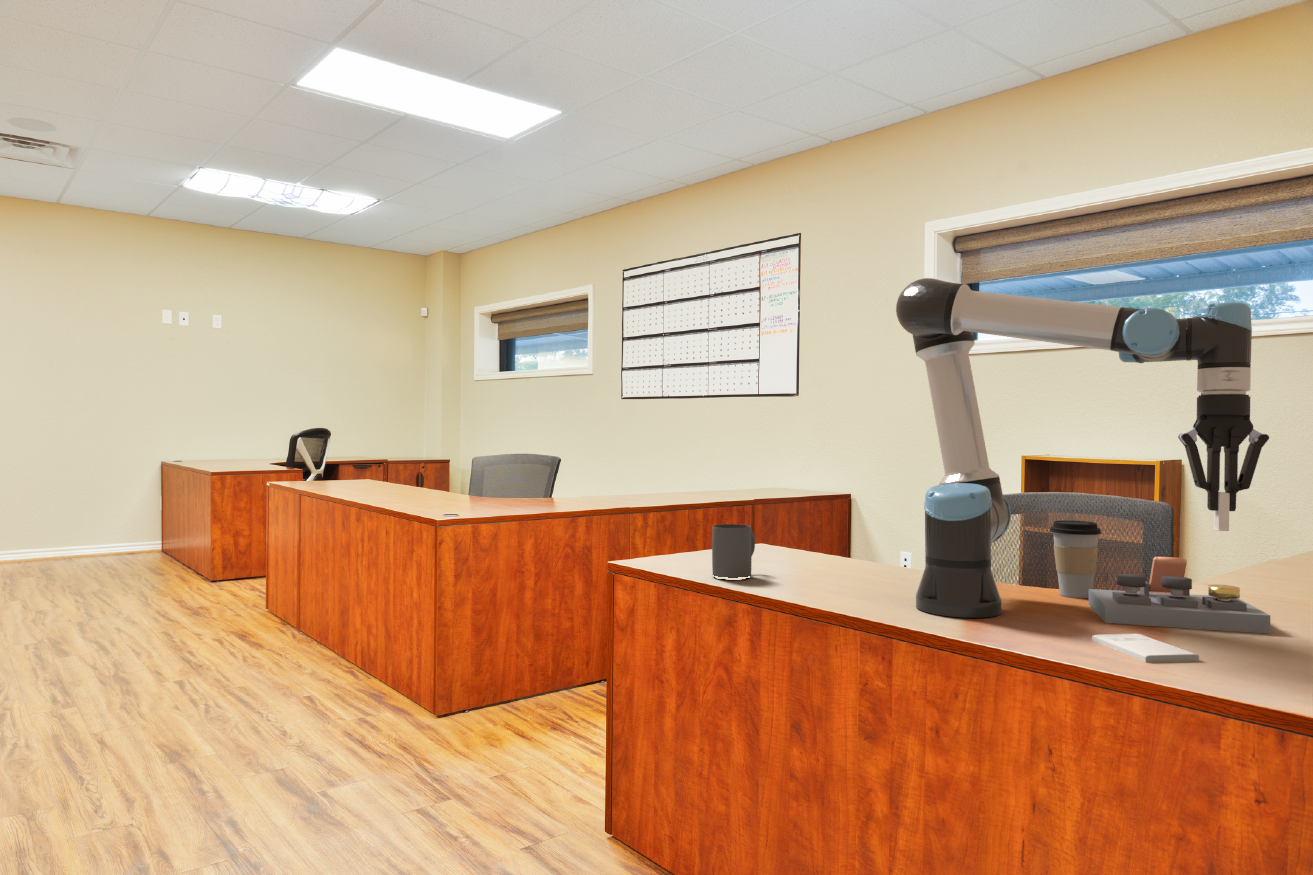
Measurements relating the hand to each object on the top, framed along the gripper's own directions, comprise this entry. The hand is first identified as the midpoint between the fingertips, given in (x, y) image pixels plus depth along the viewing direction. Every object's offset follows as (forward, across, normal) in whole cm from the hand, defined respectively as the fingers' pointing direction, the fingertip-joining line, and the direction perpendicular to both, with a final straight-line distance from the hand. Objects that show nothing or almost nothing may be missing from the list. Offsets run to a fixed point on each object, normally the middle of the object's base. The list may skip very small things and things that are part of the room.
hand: (1221, 529), depth 136 cm
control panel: (+16, -6, +3) cm, 18 cm away
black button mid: (+12, -6, 0) cm, 13 cm away
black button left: (+12, -13, 0) cm, 18 cm away
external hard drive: (+17, -16, -23) cm, 33 cm away
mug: (+18, -90, +20) cm, 94 cm away
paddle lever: (+13, -6, +8) cm, 16 cm away
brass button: (+13, +1, 0) cm, 13 cm away
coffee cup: (+17, -19, +20) cm, 32 cm away
